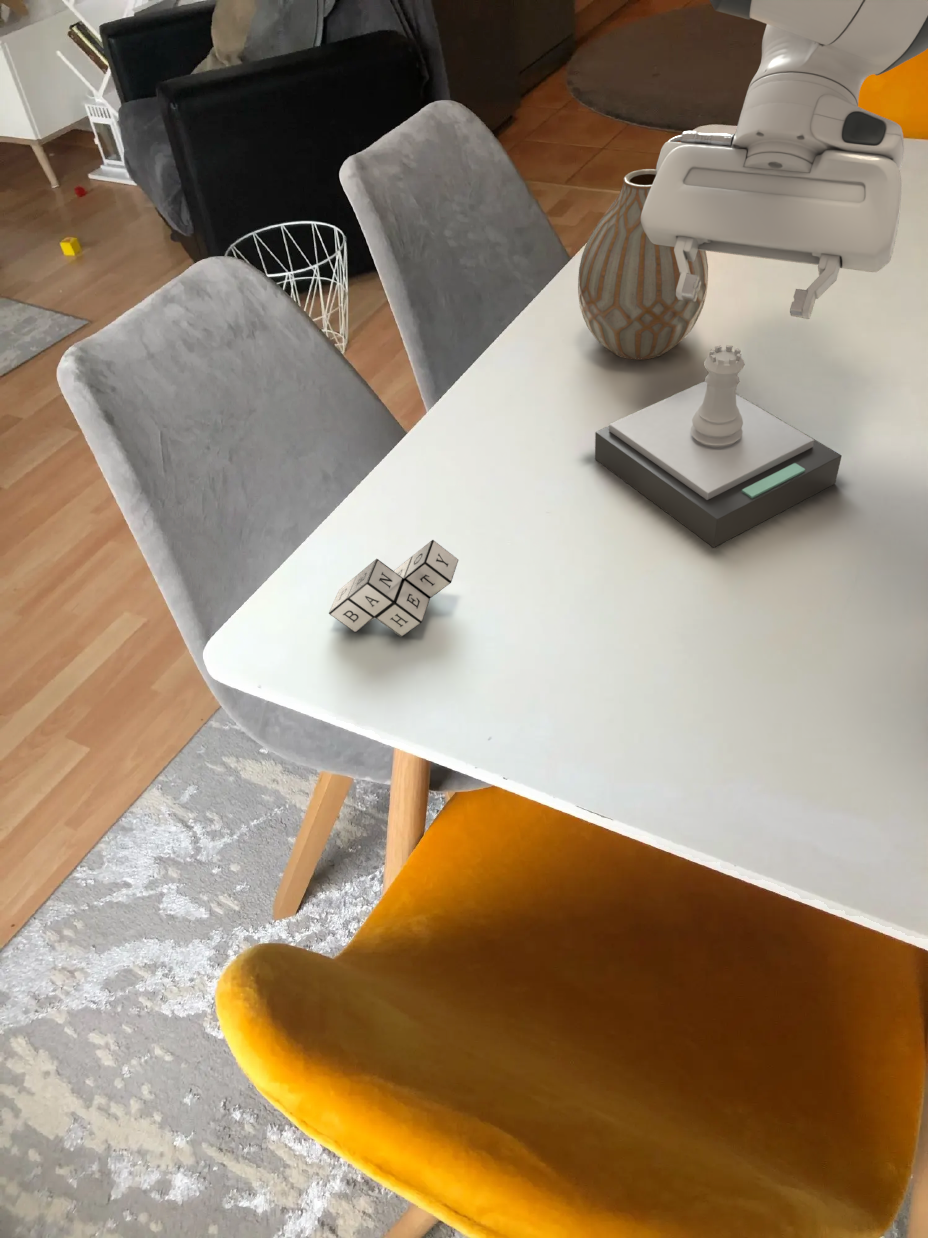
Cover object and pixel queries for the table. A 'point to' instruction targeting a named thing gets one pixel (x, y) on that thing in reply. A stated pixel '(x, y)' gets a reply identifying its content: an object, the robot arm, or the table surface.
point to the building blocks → (395, 591)
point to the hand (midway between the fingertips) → (740, 306)
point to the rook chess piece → (720, 401)
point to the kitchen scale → (715, 465)
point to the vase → (635, 280)
